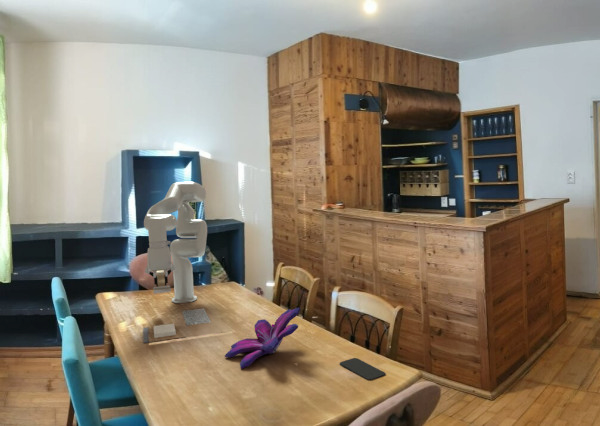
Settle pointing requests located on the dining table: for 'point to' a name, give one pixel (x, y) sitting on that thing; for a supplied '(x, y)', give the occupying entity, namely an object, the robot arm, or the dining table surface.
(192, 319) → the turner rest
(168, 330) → the tile
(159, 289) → the tan bar with plate
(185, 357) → the dining table surface
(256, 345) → the decorative flower
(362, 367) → the phone
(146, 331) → the mat
